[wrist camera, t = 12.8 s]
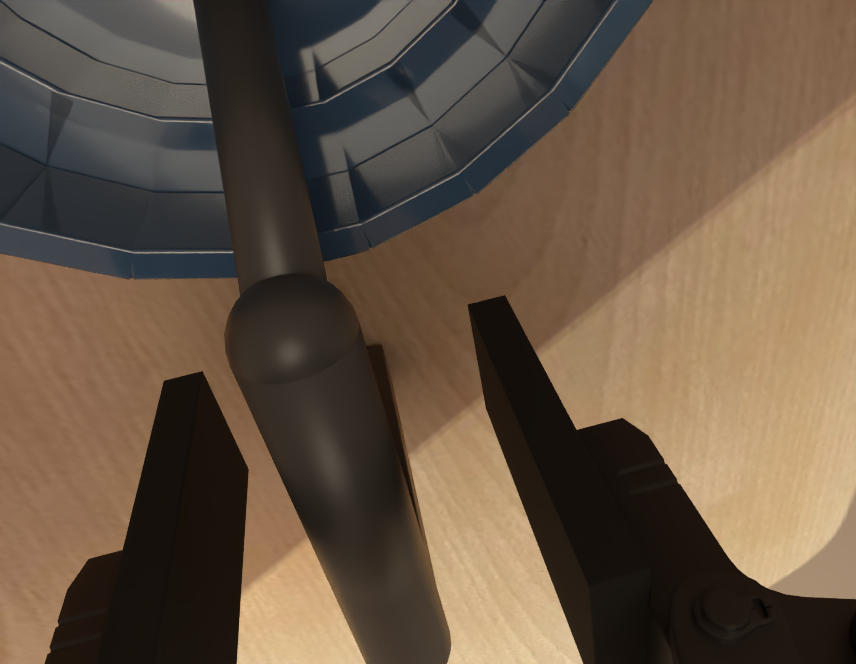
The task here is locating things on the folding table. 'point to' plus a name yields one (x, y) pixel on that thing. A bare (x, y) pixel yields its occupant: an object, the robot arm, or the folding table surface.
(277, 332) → the ladle
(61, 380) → the folding table surface
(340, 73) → the bowl
